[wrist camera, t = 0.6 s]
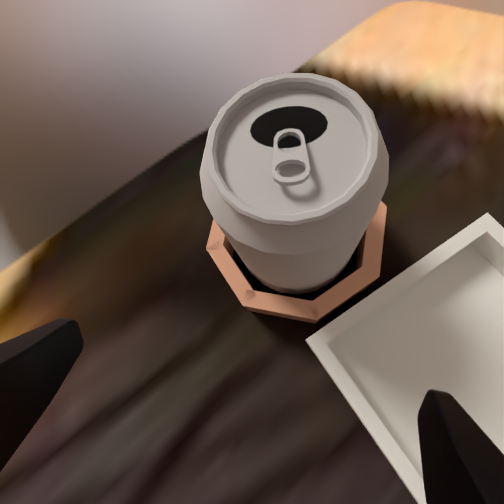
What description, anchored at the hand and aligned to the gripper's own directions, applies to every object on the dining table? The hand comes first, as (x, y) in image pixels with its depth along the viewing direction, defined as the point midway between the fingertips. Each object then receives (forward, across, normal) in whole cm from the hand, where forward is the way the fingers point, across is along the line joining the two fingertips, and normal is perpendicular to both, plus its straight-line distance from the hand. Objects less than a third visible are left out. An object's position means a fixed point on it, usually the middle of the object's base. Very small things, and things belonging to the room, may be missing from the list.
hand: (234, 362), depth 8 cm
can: (+15, 0, +4) cm, 15 cm away
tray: (+10, -11, +9) cm, 17 cm away
